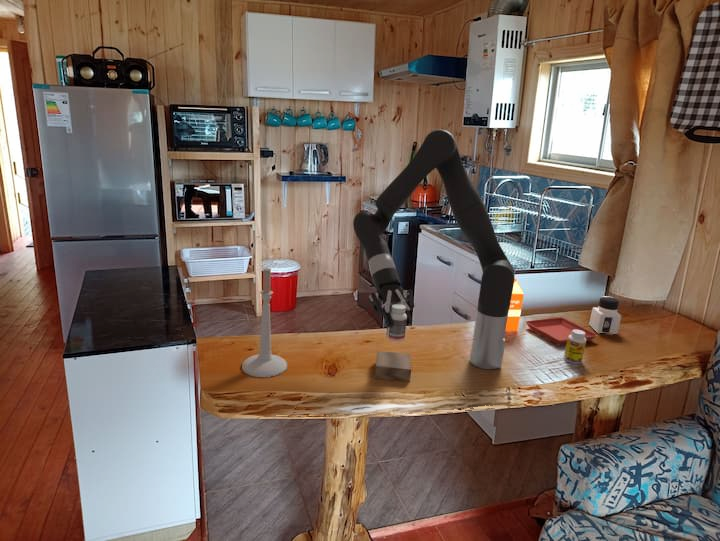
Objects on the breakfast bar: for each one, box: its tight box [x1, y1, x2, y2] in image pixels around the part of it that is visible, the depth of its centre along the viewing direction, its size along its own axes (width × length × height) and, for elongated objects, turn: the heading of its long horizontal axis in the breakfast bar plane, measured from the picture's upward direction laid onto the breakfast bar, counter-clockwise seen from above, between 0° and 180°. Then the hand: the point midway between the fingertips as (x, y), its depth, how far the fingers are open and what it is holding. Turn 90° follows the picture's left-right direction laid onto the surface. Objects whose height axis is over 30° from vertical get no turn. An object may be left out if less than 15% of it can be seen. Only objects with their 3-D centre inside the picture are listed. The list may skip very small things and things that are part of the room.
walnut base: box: [374, 350, 412, 383], centre depth 155 cm, size 10×10×4 cm
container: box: [588, 295, 622, 335], centre depth 198 cm, size 8×8×13 cm
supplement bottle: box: [563, 329, 587, 365], centre depth 171 cm, size 6×6×10 cm
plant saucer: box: [525, 316, 598, 346], centre depth 192 cm, size 18×18×3 cm
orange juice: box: [505, 277, 525, 332], centre depth 193 cm, size 8×9×20 cm
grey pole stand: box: [241, 267, 288, 378], centre depth 148 cm, size 13×13×30 cm
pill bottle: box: [386, 304, 407, 342], centre depth 151 cm, size 5×5×10 cm
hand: (400, 325), depth 149 cm, fingers closed on pill bottle, 5 cm apart
